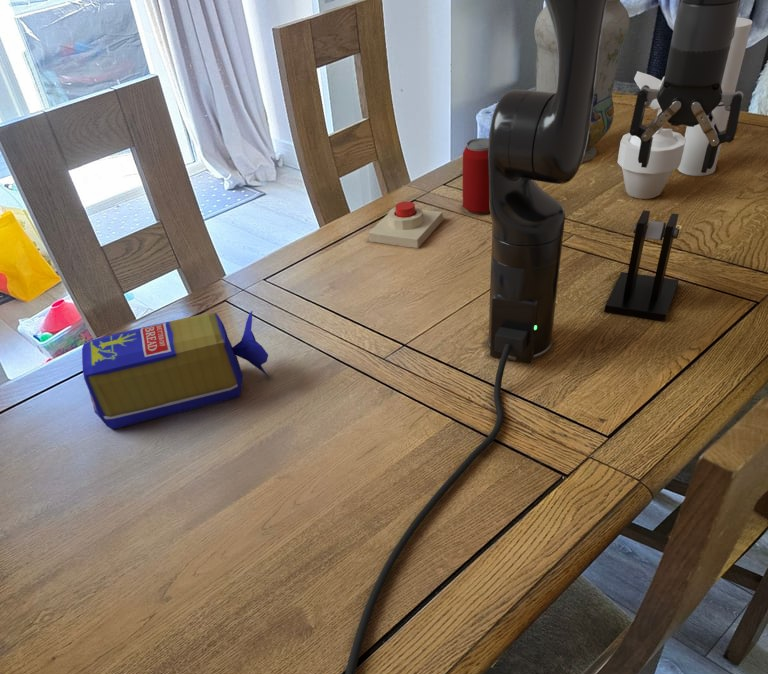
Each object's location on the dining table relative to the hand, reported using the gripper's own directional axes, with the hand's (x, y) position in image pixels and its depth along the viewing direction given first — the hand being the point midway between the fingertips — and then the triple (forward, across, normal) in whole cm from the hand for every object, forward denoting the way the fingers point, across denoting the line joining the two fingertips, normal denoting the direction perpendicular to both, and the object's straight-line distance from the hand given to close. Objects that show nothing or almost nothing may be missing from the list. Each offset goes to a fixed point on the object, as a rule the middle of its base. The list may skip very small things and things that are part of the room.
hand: (674, 168), depth 104 cm
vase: (+16, -26, +46) cm, 56 cm away
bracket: (+16, 0, -10) cm, 19 cm away
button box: (+16, -46, +2) cm, 49 cm away
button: (+13, -46, +2) cm, 48 cm away
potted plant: (+16, -8, +30) cm, 35 cm away
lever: (+8, 0, -6) cm, 10 cm away
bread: (+16, -55, -56) cm, 80 cm away
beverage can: (+16, -36, +15) cm, 42 cm away
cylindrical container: (+16, 0, +44) cm, 47 cm away
